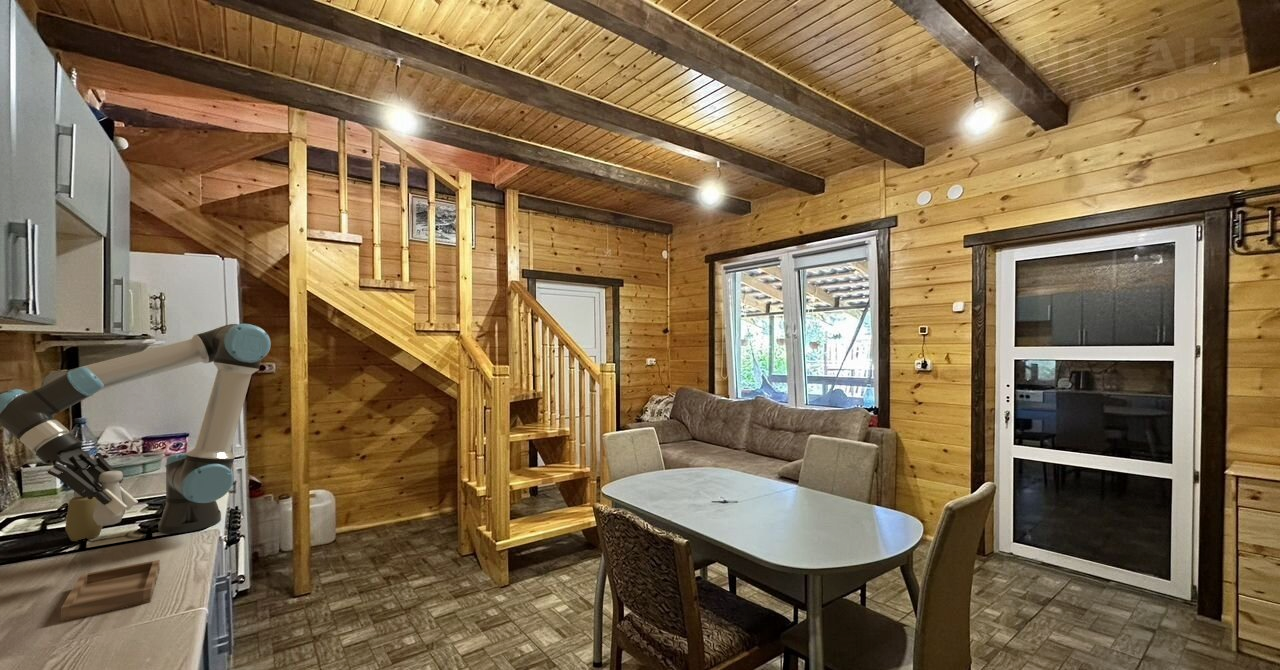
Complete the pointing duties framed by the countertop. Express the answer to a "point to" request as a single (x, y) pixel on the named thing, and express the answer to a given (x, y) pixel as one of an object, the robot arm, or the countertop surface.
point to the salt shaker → (101, 511)
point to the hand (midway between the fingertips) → (127, 508)
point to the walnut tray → (111, 590)
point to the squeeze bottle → (81, 518)
